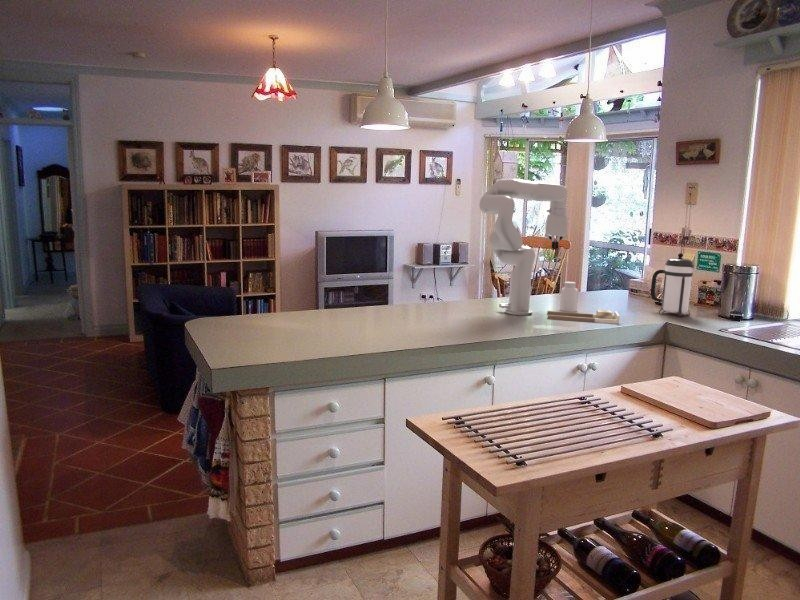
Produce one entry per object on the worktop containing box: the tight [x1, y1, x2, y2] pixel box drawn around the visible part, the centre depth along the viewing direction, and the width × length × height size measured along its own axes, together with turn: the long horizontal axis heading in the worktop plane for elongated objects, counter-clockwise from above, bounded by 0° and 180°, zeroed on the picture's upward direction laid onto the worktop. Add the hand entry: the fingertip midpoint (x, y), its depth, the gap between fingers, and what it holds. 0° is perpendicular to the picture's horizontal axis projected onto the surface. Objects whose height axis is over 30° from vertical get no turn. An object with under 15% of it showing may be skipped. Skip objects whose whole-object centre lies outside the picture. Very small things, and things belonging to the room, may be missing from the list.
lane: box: [546, 310, 620, 325], centre depth 282 cm, size 30×12×5 cm, turn 78°
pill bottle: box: [559, 281, 579, 313], centre depth 302 cm, size 8×8×15 cm
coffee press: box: [650, 252, 696, 318], centre depth 309 cm, size 17×16×30 cm
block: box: [595, 309, 614, 319], centre depth 281 cm, size 6×6×4 cm
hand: (554, 249), depth 310 cm, fingers closed
